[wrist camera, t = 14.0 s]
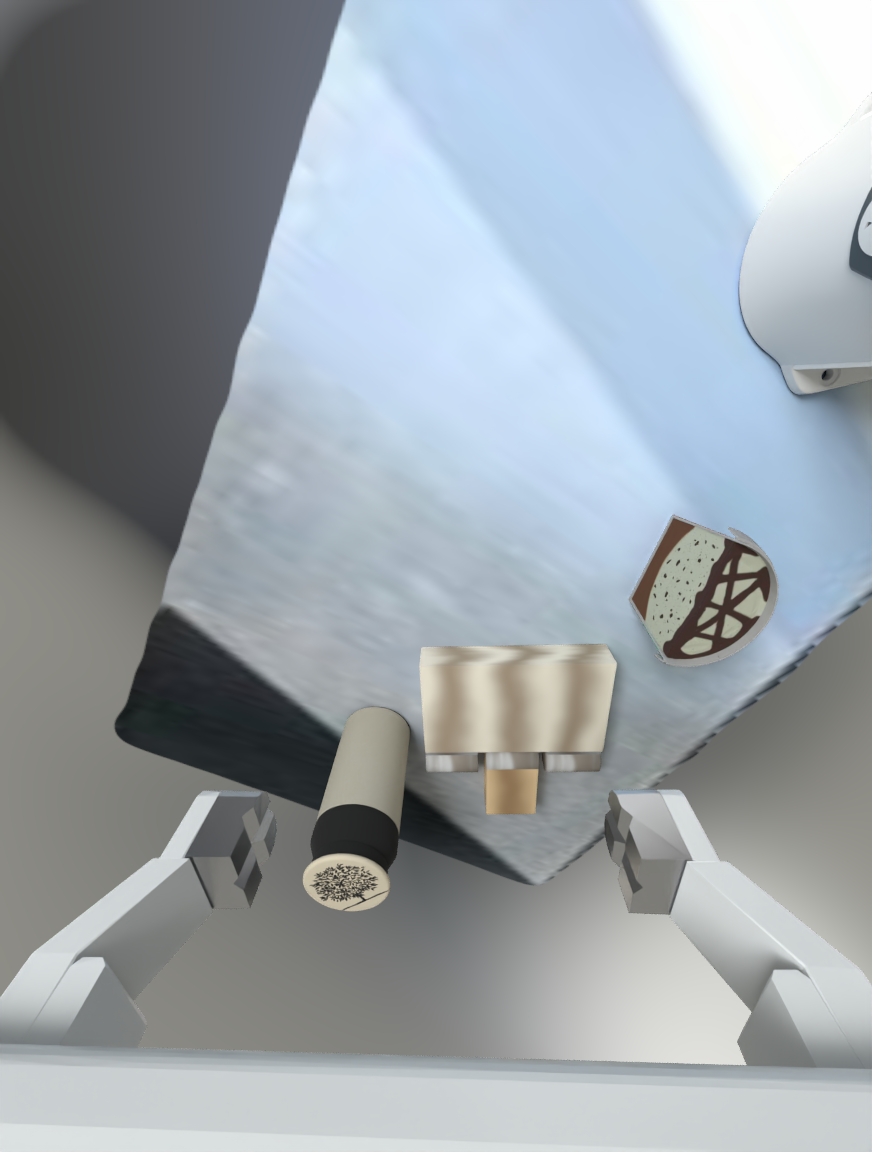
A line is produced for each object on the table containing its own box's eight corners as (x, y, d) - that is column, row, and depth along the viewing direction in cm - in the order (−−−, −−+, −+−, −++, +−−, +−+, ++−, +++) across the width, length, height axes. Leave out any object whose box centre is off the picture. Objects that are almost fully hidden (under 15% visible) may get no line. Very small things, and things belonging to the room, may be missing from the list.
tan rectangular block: (534, 731, 53) (539, 754, 50) (530, 789, 57) (535, 814, 54) (484, 731, 54) (486, 755, 50) (484, 789, 58) (486, 814, 54)
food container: (676, 625, 46) (731, 686, 37) (622, 611, 46) (664, 670, 37) (740, 516, 41) (821, 557, 32) (680, 499, 41) (745, 535, 32)
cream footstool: (605, 644, 48) (617, 664, 44) (589, 754, 54) (598, 778, 51) (421, 647, 48) (419, 667, 45) (428, 755, 55) (426, 779, 52)
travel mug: (332, 719, 53) (280, 872, 37) (389, 695, 51) (360, 845, 35) (367, 762, 56) (333, 922, 40) (421, 741, 54) (409, 900, 38)
